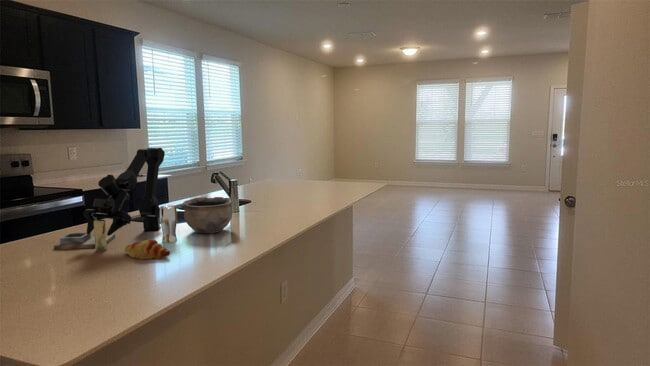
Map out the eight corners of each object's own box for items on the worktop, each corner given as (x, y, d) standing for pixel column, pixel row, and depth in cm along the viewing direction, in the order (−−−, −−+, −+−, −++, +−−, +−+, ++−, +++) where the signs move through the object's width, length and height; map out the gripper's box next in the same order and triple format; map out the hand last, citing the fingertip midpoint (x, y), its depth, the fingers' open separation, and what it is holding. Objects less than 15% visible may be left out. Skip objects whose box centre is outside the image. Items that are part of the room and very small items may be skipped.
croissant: (120, 263, 159) (111, 248, 155) (136, 245, 167) (128, 230, 163) (165, 269, 152) (157, 253, 148) (180, 250, 160) (173, 234, 156)
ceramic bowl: (239, 227, 204) (238, 197, 202) (224, 238, 183) (223, 205, 181) (195, 225, 206) (194, 196, 204) (175, 237, 185) (174, 204, 183)
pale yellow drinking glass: (108, 248, 167) (106, 219, 165) (104, 251, 163) (103, 221, 161) (97, 248, 166) (95, 219, 165) (94, 251, 162) (91, 221, 161)
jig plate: (115, 237, 184) (114, 228, 184) (102, 247, 168) (101, 237, 168) (71, 238, 181) (70, 229, 181) (53, 249, 165) (53, 239, 165)
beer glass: (180, 239, 182) (179, 205, 180) (173, 243, 175) (172, 208, 173) (165, 238, 182) (164, 205, 180) (157, 243, 175) (156, 208, 173)
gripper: (84, 189, 167) (64, 222, 158) (125, 191, 164) (107, 224, 154) (99, 205, 176) (81, 237, 167) (139, 207, 172) (122, 239, 163)
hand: (97, 234), depth 163 cm, fingers open, 9 cm apart
